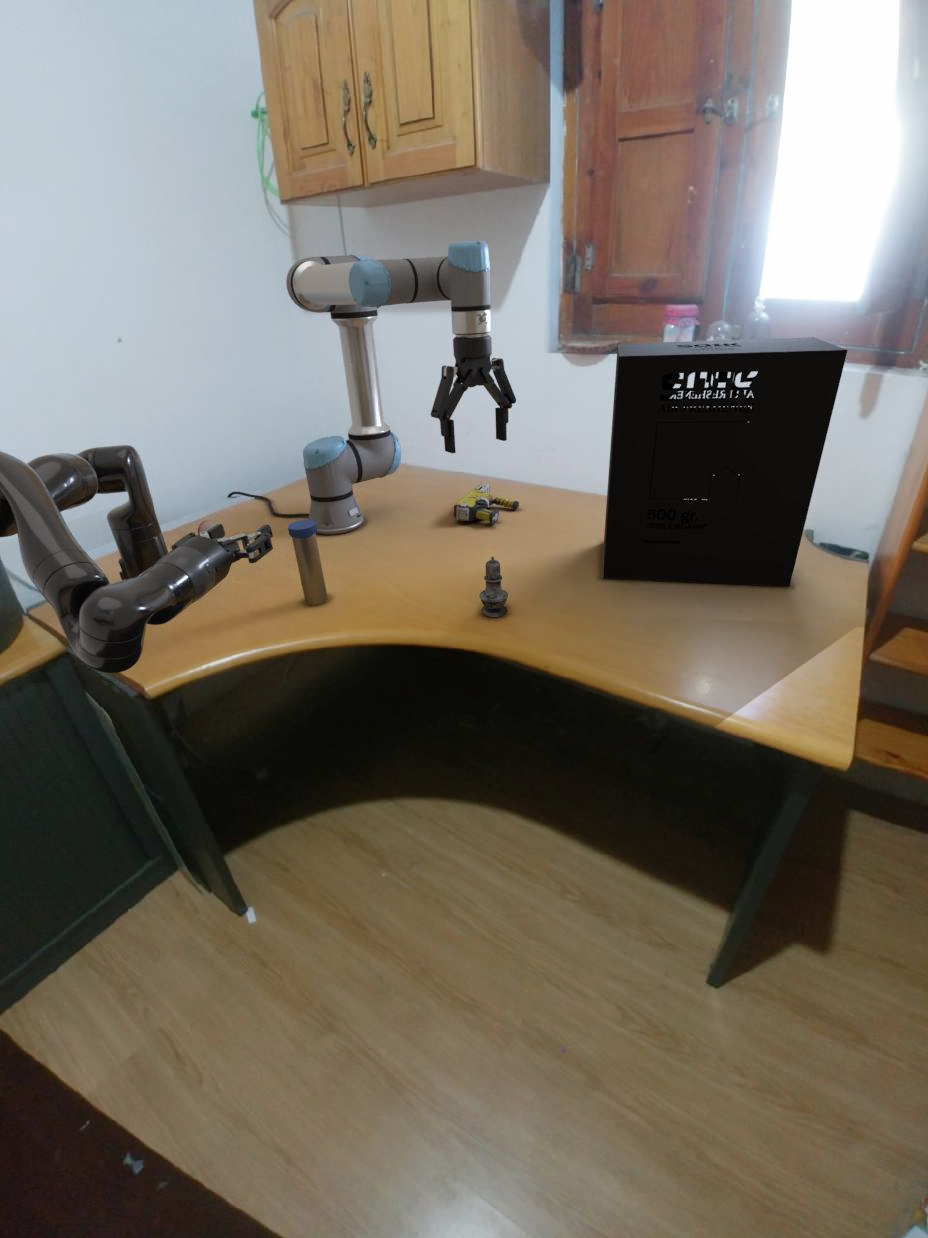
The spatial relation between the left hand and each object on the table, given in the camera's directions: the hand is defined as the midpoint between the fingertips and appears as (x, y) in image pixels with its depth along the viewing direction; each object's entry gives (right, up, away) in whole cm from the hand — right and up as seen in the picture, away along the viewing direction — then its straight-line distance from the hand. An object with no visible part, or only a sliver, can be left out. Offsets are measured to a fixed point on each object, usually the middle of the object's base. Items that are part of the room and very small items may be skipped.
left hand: (245, 529), depth 100 cm
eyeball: (-31, +6, +63) cm, 70 cm away
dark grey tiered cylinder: (+43, -13, +22) cm, 50 cm away
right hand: (+39, +22, +27) cm, 52 cm away
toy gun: (+44, +16, +73) cm, 86 cm away
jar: (+4, -11, +30) cm, 32 cm away
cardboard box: (+87, -2, +37) cm, 95 cm away
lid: (+4, +4, +22) cm, 22 cm away
